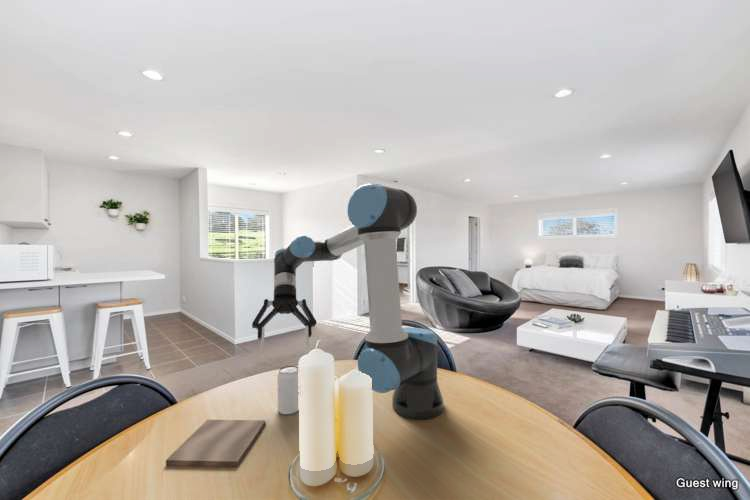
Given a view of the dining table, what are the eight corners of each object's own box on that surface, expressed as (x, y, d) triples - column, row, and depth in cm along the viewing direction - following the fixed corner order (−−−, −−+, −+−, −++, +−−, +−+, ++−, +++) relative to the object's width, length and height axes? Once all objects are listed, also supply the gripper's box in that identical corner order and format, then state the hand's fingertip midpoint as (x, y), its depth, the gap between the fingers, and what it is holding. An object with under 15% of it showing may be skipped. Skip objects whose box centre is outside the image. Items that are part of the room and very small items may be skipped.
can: (305, 406, 94) (304, 366, 94) (290, 417, 88) (290, 375, 88) (288, 402, 97) (287, 363, 96) (273, 412, 91) (272, 371, 90)
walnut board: (265, 424, 84) (265, 420, 84) (237, 466, 68) (237, 461, 68) (207, 423, 85) (207, 419, 85) (166, 465, 69) (165, 460, 69)
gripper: (318, 293, 118) (322, 349, 106) (246, 293, 109) (242, 354, 97) (322, 283, 112) (326, 341, 100) (247, 282, 103) (242, 345, 91)
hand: (285, 347), depth 98 cm, fingers open, 13 cm apart
